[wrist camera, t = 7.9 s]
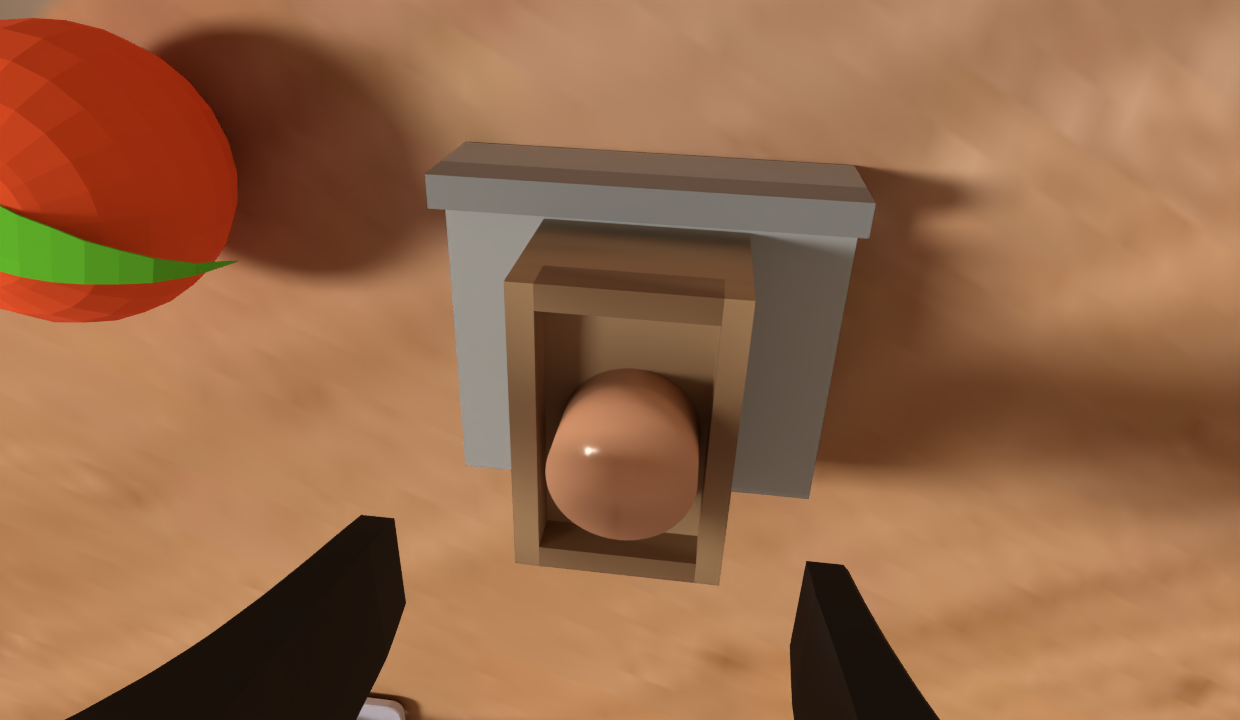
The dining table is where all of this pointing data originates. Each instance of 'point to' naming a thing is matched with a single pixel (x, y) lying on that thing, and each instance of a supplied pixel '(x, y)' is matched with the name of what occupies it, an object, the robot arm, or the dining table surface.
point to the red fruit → (104, 176)
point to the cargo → (625, 455)
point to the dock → (679, 198)
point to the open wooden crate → (627, 338)
